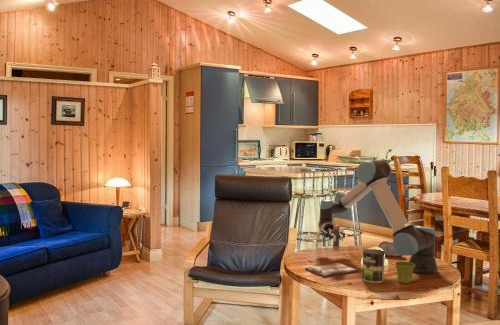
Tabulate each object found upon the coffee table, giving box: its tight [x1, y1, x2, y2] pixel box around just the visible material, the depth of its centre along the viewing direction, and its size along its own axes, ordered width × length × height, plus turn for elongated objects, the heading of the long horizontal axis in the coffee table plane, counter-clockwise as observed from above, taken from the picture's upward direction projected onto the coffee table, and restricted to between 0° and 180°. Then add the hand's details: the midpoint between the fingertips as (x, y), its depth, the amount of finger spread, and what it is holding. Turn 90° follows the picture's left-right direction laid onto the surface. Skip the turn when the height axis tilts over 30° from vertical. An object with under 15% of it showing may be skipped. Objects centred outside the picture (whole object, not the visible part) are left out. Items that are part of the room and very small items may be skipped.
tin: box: [378, 240, 403, 258], centre depth 290 cm, size 15×3×8 cm, turn 69°
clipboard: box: [304, 262, 359, 278], centre depth 256 cm, size 16×22×2 cm
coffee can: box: [361, 248, 385, 284], centre depth 241 cm, size 10×10×14 cm
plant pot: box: [394, 261, 415, 284], centre depth 239 cm, size 9×9×9 cm
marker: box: [332, 224, 341, 251], centre depth 263 cm, size 3×3×13 cm
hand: (338, 238), depth 258 cm, fingers closed on marker, 3 cm apart
